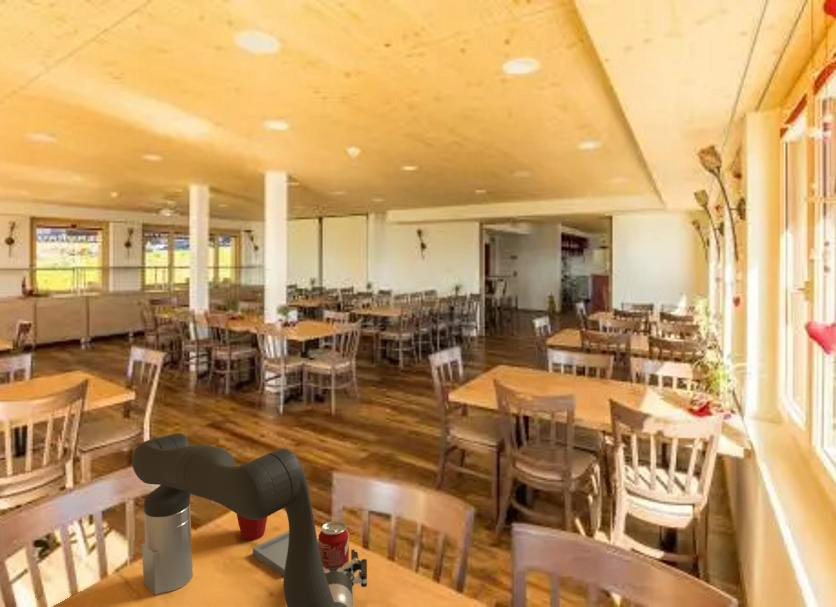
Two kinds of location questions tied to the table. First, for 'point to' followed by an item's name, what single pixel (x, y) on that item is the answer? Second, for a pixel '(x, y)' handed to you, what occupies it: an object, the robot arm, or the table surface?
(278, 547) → the serving tray
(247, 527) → the plastic cup
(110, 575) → the table surface
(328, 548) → the soda can
